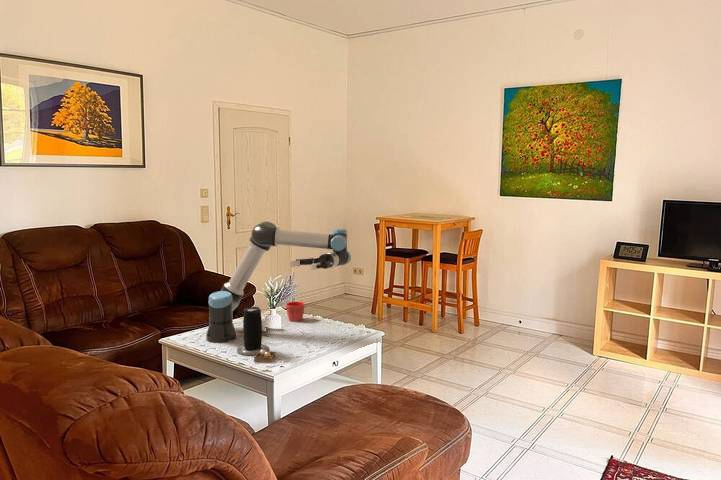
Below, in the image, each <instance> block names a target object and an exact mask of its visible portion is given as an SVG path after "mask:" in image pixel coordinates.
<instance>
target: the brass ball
mask: <svg viewBox="0 0 721 480" xmlns="http://www.w3.org/2000/svg"><path fill="white" fill-rule="evenodd" d="M270 352H271V351H268V352H265V353H264V357H270V356H271V354H270Z"/></svg>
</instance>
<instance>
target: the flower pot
mask: <svg viewBox="0 0 721 480" xmlns="http://www.w3.org/2000/svg"><path fill="white" fill-rule="evenodd" d="M305 305H306V303H304V302H303V301H290V302H286V303H285V307H286V313H287V318H288V321H289V322H297V323H299V322H301V321H303V318H304V317H303V316H304V314H305V313H304V312H305V307H306V306H305Z"/></svg>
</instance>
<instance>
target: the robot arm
mask: <svg viewBox="0 0 721 480" xmlns="http://www.w3.org/2000/svg"><path fill="white" fill-rule="evenodd" d="M248 241H249V245H248V247H247V249H246V251H245V252H244V254H243V256H242V258H241V260H240V262H239V263H238V265H237V267H236V268H235V270H234V272H233V274H232V276H231V278H230V279H229V280H228V282H225V283H223V285H222V287H221V290H220V291H215V292H212V293H211V294H209V296H208V301H207V302H208V319H209V320H208V321H209V325H208V327H207V331H206V334H205V340H207V341H208V342H212V343H226V342H231V341H234V340H236V339H237V331H236V328H235V325H234V322H233V319H234V317H233V314H234V313H233V311H234V310H236V309H237V308H238V307H239V305H240V303H241V300H242V298H243V296H244V294H245V293H244V292H245V291H244V289H245V288H246V285H247V283H248V282H249V279H251V276H252V275H253V273H254V272H255V269H256V268H257V266H258V264H259V262H260V261H261V259H262V258H263V255H264V254H265V253H266V252H269V251H270V249H271V247H278V246H279V245H280V246H287V247H289V246H290V247H301V248H313V249H322V250H323V249H325V250H332V252H328V253H322V254H321V255H319V257H316V258H313V257H310V258H300V259H298V258H297V259H295V260H292V261H289V268H294V267H297V268H298V267H300V266H310V271H314V270H315V271H316V270H319V269H320V270H321V269H326V270H327V269H333V268H334V267H338V266H345V265H347V264H349V263H350V261H351V259H352V256H351V253H350V251H348V232H347V229H345V228H334V229H333V230H332V234H329V233H320V232H307V231H297V230H284V229H280V228H279V227H277V226H276V224H274V223H273V222H271V221H262V222H260V223H258V224H256V225H255V226H254V227H253V228H252V230H251V236H250V237H249V239H248Z"/></svg>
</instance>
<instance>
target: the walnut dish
mask: <svg viewBox="0 0 721 480" xmlns="http://www.w3.org/2000/svg"><path fill="white" fill-rule="evenodd" d="M269 352H270V354H271V356H270V357H264V356H261V355H260V351H259V352H258V353H257V354H256V355H255V356H253V362H255V363H273V361H274V360H275V358H276V357H277V352H276V351H269Z"/></svg>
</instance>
